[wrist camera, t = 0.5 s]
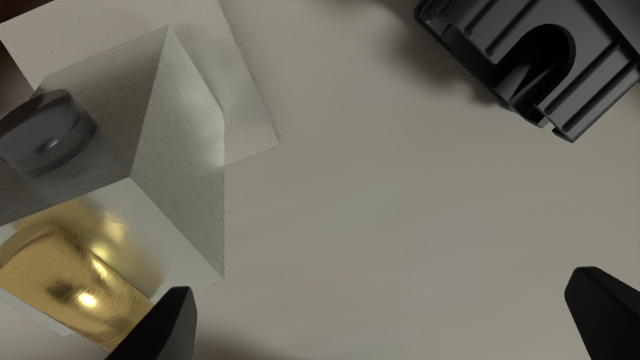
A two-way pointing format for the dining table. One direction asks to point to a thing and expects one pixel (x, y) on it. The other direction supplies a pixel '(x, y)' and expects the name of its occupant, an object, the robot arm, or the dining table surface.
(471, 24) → the end cap
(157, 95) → the brushed metal block
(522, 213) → the dining table surface
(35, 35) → the gray rectangular block
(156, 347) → the robot arm
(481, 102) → the dining table surface
